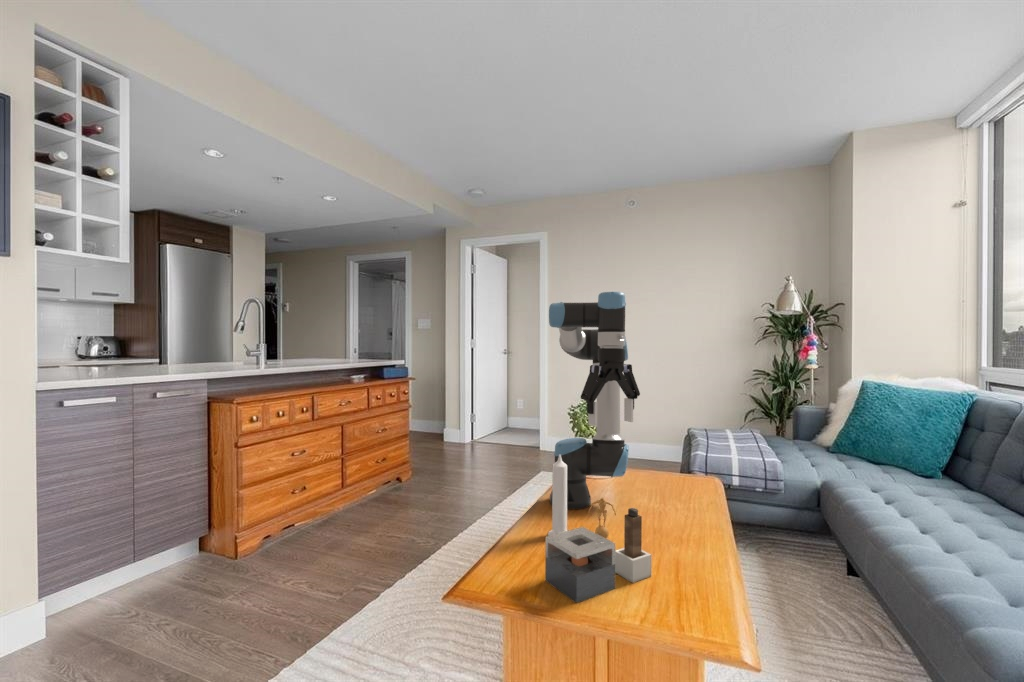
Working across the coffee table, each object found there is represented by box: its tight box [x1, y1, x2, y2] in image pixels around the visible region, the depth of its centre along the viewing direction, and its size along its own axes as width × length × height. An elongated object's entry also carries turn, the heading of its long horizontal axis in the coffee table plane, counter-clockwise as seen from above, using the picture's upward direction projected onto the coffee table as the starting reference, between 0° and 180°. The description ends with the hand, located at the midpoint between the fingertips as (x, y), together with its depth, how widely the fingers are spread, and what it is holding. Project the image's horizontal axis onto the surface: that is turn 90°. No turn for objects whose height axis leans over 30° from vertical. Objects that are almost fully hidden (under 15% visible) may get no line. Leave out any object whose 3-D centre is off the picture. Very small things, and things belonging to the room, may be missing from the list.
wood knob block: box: [623, 507, 643, 559], centre depth 123 cm, size 3×3×16 cm
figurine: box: [587, 497, 617, 539], centre depth 145 cm, size 8×6×12 cm
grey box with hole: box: [544, 526, 616, 604], centre depth 117 cm, size 12×12×11 cm
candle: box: [547, 454, 568, 536], centre depth 147 cm, size 7×7×25 cm
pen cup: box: [615, 547, 652, 584], centre depth 123 cm, size 7×7×6 cm
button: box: [572, 557, 588, 567], centre depth 117 cm, size 4×4×6 cm
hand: (611, 423), depth 134 cm, fingers open, 13 cm apart
